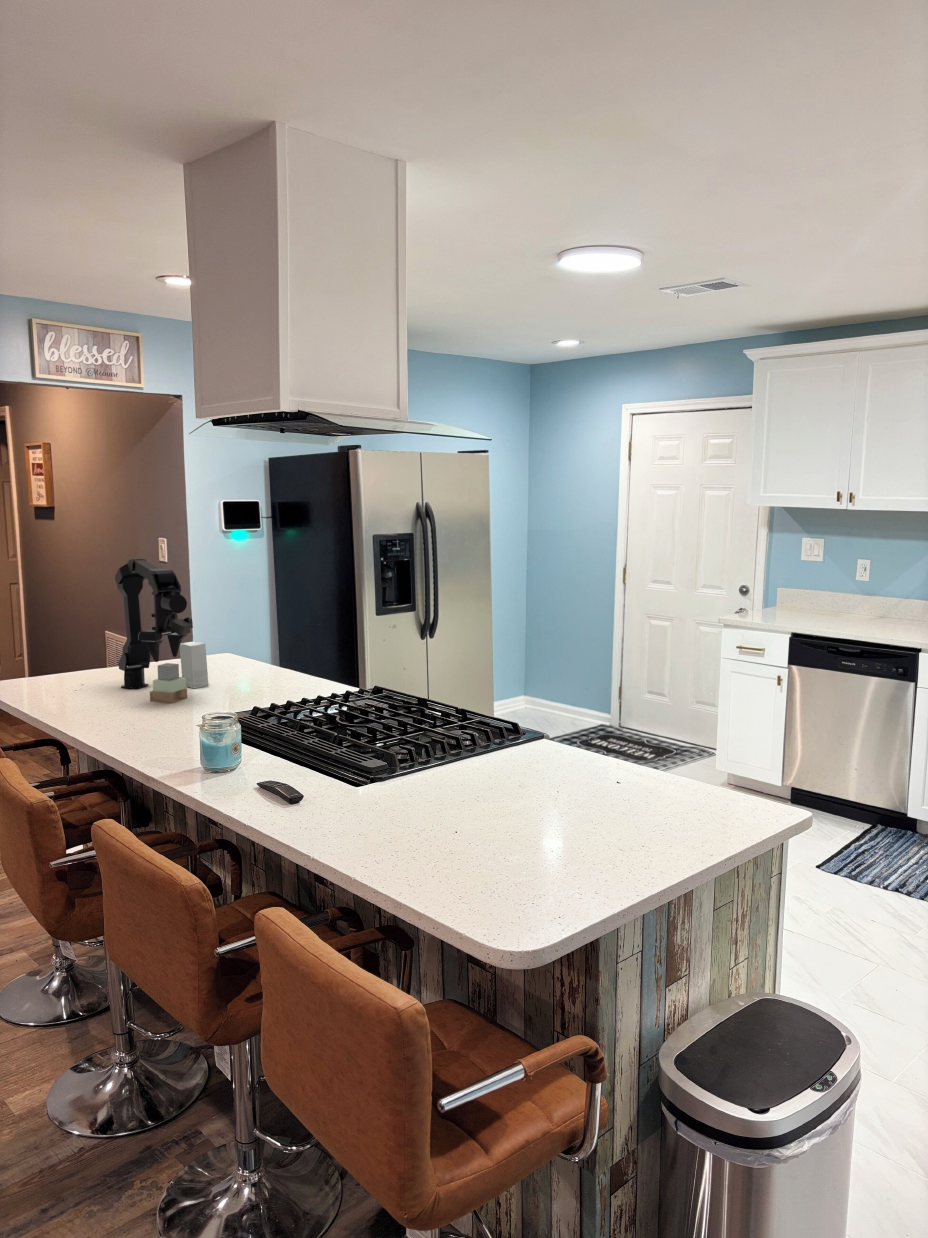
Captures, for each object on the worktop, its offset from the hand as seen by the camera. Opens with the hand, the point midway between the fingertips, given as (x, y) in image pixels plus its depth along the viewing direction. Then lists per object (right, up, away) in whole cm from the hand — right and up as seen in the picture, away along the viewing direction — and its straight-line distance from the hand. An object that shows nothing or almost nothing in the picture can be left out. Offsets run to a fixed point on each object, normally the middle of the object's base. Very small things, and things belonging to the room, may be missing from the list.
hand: (165, 659), depth 284 cm
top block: (+1, -10, +1) cm, 10 cm away
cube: (+1, -6, +1) cm, 6 cm away
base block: (+1, -13, +1) cm, 13 cm away
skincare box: (+3, -10, +22) cm, 24 cm away
